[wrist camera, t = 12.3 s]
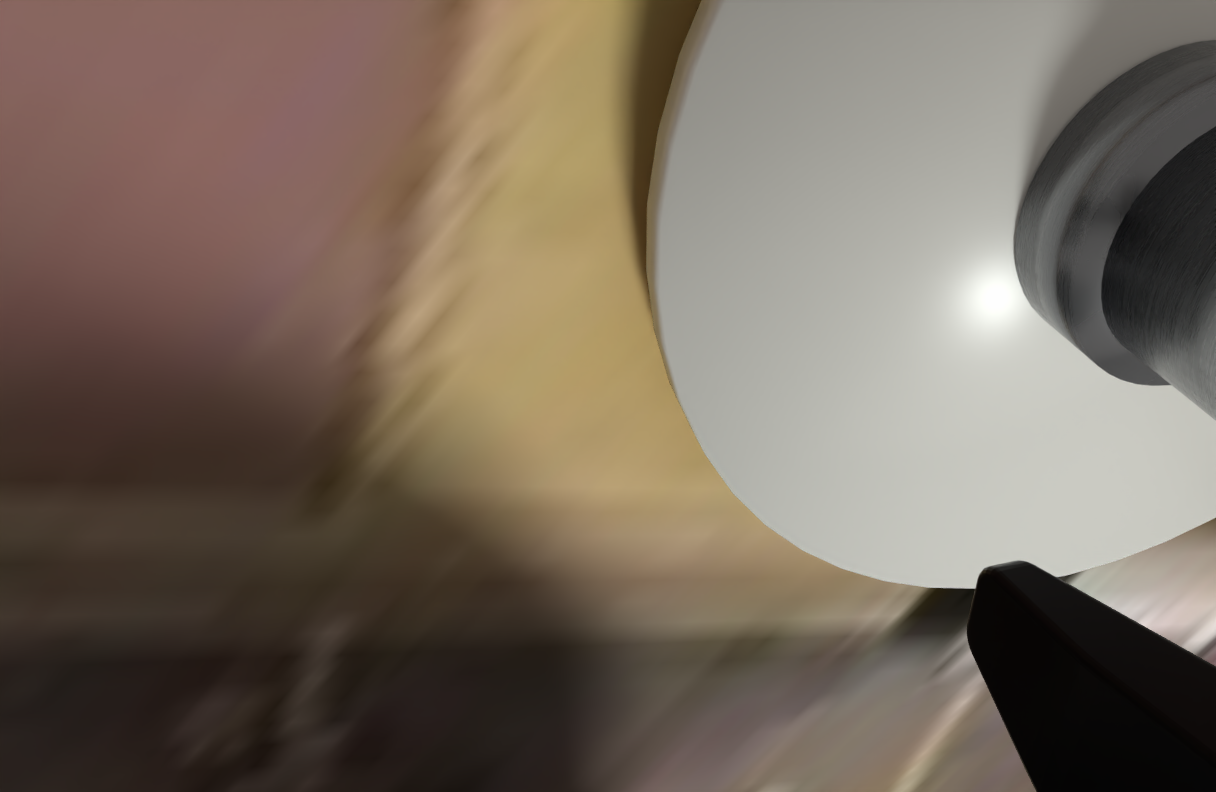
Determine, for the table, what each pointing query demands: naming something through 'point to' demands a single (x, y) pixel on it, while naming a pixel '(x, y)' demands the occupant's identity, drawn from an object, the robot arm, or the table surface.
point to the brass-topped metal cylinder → (1133, 226)
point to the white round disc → (904, 285)
